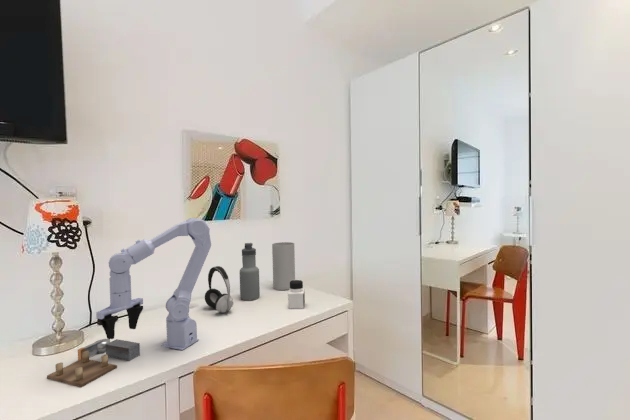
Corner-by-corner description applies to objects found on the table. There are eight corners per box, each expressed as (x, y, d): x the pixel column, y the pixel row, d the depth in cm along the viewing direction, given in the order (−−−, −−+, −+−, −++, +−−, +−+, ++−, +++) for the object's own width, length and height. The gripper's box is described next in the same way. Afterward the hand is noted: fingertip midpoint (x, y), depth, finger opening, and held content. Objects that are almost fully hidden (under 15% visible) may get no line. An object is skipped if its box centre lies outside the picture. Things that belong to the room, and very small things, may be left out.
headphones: (238, 313, 136) (236, 267, 135) (220, 318, 130) (219, 271, 130) (217, 303, 150) (216, 262, 149) (200, 307, 144) (199, 265, 143)
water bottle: (239, 296, 161) (238, 242, 160) (258, 293, 164) (257, 241, 163) (240, 301, 151) (239, 245, 150) (260, 299, 154) (259, 243, 153)
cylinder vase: (297, 284, 180) (296, 242, 180) (292, 290, 168) (291, 245, 167) (276, 284, 182) (275, 242, 181) (270, 290, 170) (269, 245, 169)
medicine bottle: (303, 308, 140) (303, 282, 139) (288, 308, 140) (287, 282, 140) (304, 303, 147) (304, 278, 147) (289, 303, 147) (289, 278, 147)
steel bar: (140, 356, 99) (139, 343, 98) (129, 362, 95) (128, 348, 95) (117, 352, 102) (116, 339, 102) (106, 358, 98) (105, 344, 98)
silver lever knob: (113, 348, 103) (113, 337, 103) (84, 362, 95) (83, 350, 95) (104, 346, 105) (103, 336, 105) (74, 360, 96) (74, 348, 96)
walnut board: (116, 369, 91) (116, 355, 91) (81, 388, 82) (81, 373, 82) (84, 361, 96) (83, 348, 96) (47, 379, 86) (46, 364, 86)
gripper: (131, 284, 106) (132, 323, 106) (88, 296, 92) (90, 341, 93) (147, 285, 104) (148, 325, 104) (105, 298, 90) (106, 344, 90)
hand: (122, 333), depth 98 cm, fingers open, 7 cm apart
